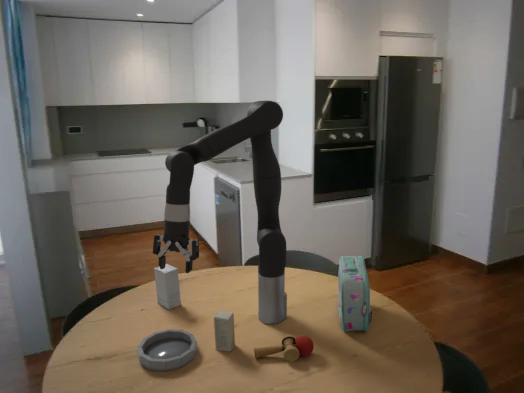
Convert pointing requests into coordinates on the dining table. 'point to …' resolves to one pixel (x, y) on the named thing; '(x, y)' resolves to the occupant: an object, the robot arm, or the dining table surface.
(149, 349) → the round tray
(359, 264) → the lunch box
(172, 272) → the skincare box
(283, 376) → the dining table surface
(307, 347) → the kendama
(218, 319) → the box
